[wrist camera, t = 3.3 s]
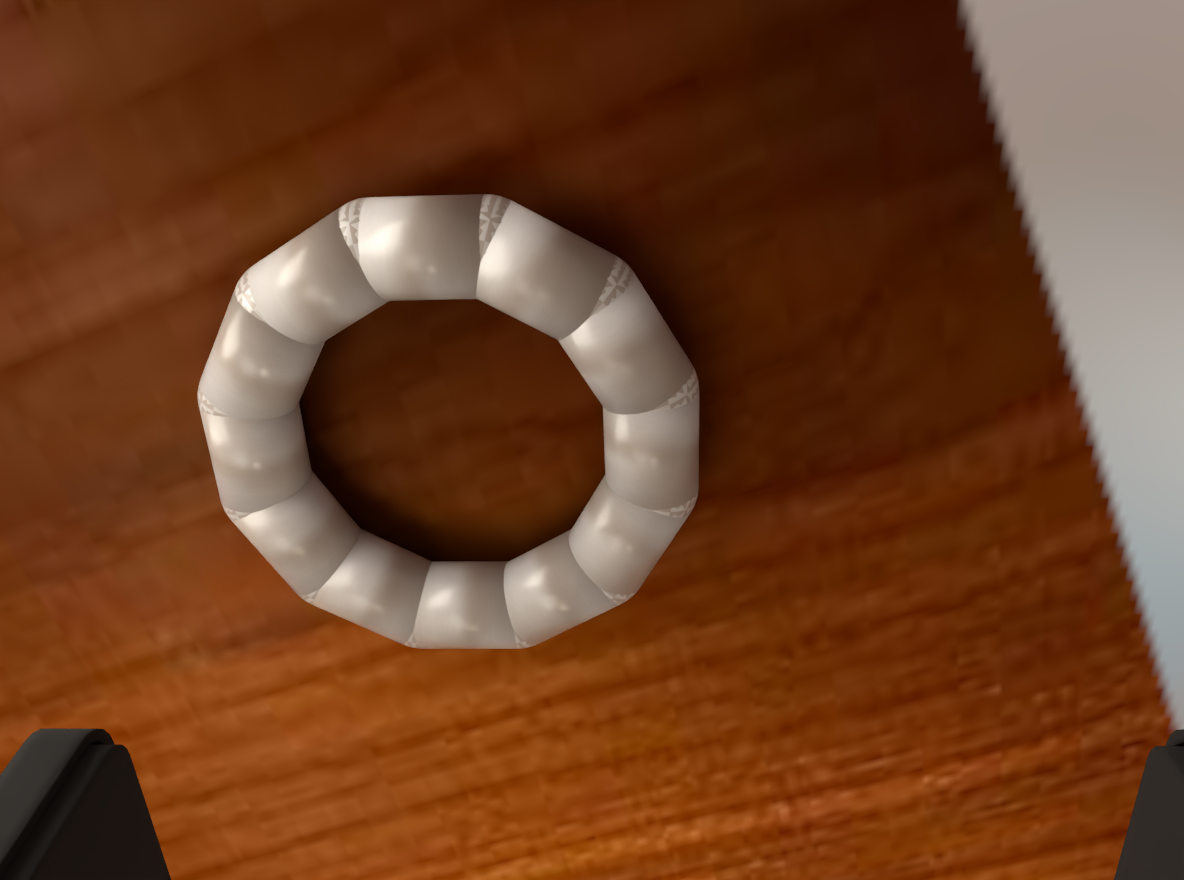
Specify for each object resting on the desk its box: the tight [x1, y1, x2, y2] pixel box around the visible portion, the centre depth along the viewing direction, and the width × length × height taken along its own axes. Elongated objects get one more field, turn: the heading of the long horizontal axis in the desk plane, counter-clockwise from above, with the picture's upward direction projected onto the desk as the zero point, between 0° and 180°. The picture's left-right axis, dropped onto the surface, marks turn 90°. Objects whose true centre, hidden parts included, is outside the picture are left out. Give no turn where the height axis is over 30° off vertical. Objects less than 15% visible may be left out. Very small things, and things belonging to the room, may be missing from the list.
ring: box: [198, 194, 699, 649], centre depth 18 cm, size 8×8×2 cm
